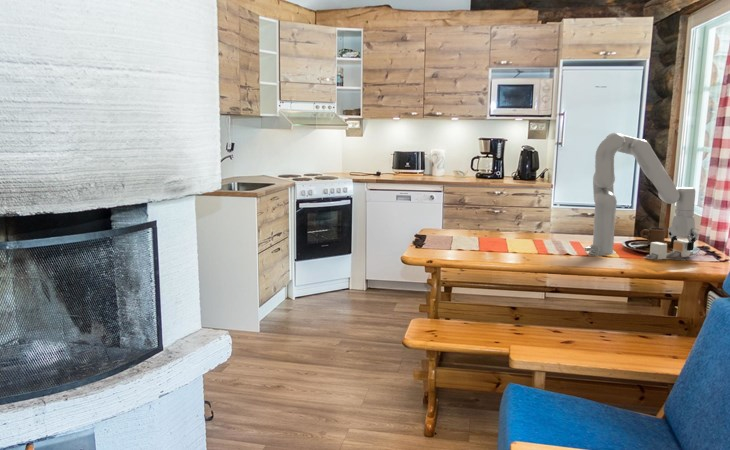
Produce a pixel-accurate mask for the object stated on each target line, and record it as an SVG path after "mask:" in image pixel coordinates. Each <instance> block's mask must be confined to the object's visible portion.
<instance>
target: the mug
mask: <svg viewBox="0 0 730 450" xmlns="http://www.w3.org/2000/svg"><path fill="white" fill-rule="evenodd" d="M665 229H666V228H661V227H649V229H645V228H644V229H642V230H641V231H640V236H641V238H642V239H644V240H647V246H648V245H650V244H651V242H660V243H664V244H665V238H666V237H665V236H666V230H665ZM645 233H647V234H648V235H645Z"/></svg>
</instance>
